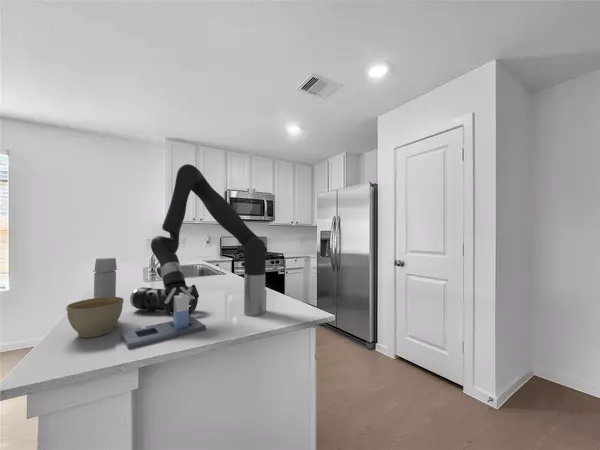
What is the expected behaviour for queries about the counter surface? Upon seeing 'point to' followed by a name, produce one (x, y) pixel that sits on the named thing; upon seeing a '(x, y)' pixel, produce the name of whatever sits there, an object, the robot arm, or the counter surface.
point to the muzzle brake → (151, 300)
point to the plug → (181, 311)
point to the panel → (159, 333)
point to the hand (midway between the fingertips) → (182, 312)
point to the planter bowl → (94, 315)
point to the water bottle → (105, 277)
